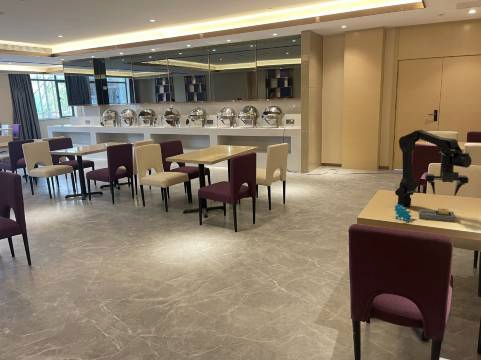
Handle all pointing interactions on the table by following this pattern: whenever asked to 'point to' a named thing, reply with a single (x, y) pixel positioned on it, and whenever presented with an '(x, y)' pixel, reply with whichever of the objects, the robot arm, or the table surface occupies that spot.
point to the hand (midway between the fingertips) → (444, 195)
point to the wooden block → (443, 211)
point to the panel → (435, 215)
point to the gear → (402, 213)
